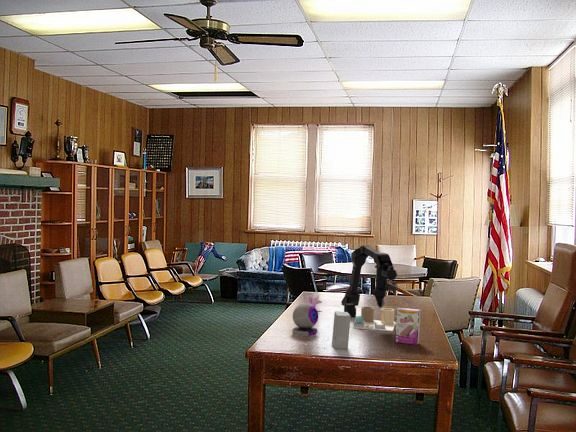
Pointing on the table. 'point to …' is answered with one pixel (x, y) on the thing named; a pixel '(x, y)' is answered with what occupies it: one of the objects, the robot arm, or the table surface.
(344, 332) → the skincare box
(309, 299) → the lily
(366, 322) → the board
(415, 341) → the candy bar box
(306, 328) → the eyeball
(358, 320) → the teal ball
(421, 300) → the table surface
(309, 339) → the table surface
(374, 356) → the table surface
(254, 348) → the table surface
